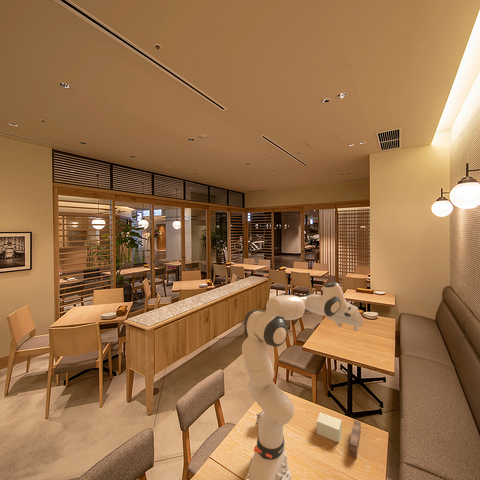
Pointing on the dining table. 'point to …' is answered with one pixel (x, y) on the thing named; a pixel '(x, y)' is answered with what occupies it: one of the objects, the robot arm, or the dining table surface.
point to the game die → (259, 416)
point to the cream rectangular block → (329, 427)
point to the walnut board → (355, 438)
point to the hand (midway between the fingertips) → (348, 328)
